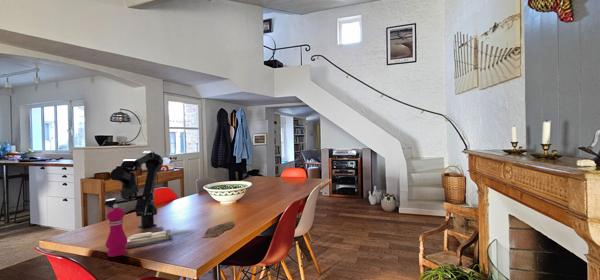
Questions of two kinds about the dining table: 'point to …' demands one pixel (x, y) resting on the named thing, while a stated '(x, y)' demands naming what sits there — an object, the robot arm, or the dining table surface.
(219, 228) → the wooden fragment
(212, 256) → the dining table surface
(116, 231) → the pepper mill
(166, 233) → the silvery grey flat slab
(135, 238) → the birch offcut stack
